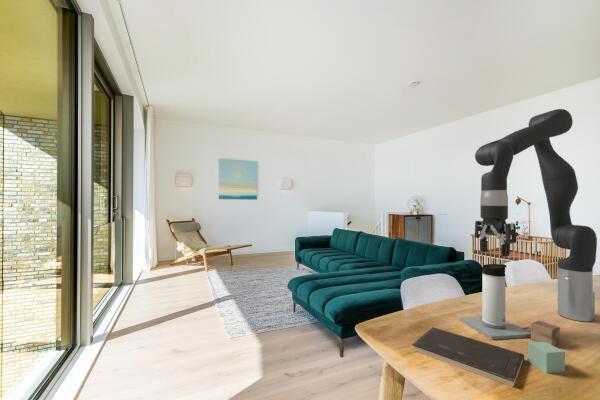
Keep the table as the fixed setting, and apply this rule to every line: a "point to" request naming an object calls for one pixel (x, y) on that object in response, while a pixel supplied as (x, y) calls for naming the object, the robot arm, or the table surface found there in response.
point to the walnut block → (545, 333)
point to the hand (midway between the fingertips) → (494, 253)
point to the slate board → (492, 333)
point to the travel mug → (493, 296)
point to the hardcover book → (471, 355)
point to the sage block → (546, 357)
